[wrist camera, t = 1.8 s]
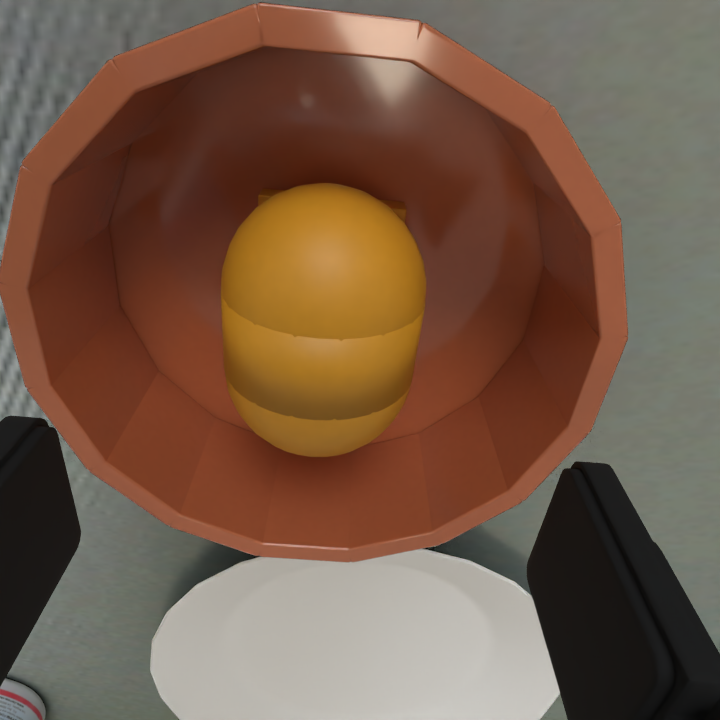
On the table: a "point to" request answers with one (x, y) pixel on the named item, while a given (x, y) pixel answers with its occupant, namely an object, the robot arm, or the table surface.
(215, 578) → the plate
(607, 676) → the robot arm
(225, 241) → the orange faceted round container
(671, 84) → the table surface
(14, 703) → the pill bottle
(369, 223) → the orange ribbed oval piece
